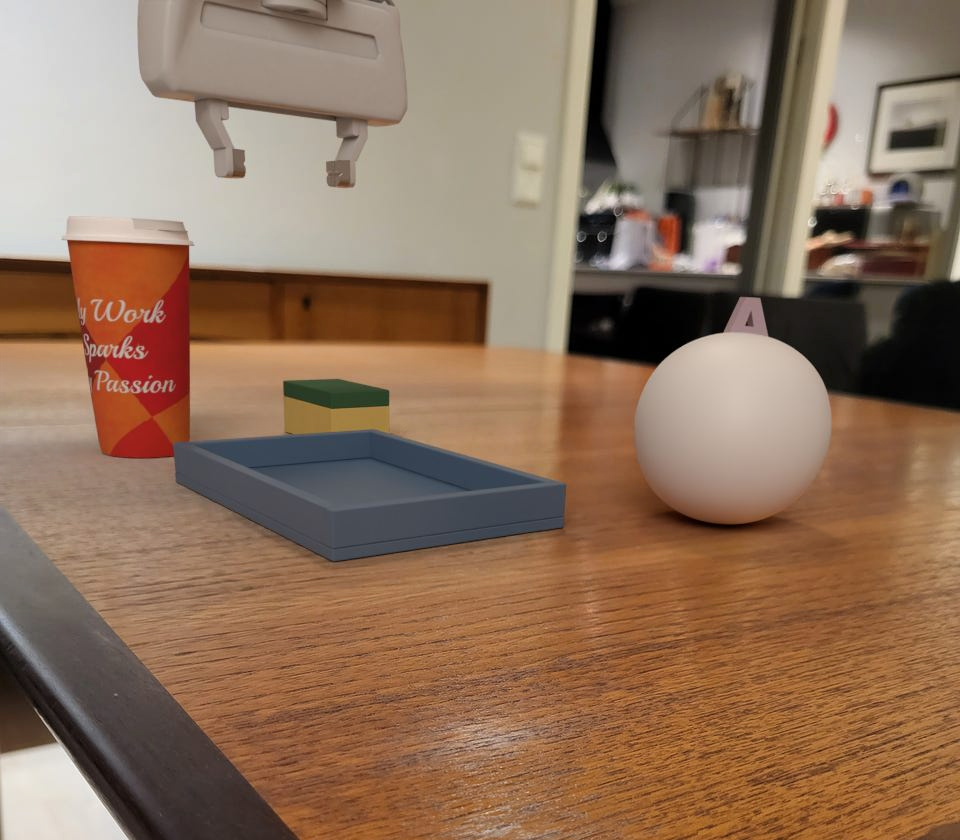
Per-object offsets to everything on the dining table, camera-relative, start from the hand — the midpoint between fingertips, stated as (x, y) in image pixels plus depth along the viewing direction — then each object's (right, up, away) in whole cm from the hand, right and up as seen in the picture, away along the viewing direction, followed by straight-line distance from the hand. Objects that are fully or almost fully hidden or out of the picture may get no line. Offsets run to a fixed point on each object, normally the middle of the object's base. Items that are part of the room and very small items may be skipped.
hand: (288, 182), depth 73 cm
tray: (+7, -26, -16) cm, 31 cm away
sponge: (+3, -17, +6) cm, 19 cm away
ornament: (+28, -27, -16) cm, 42 cm away
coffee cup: (-9, -20, -3) cm, 23 cm away
